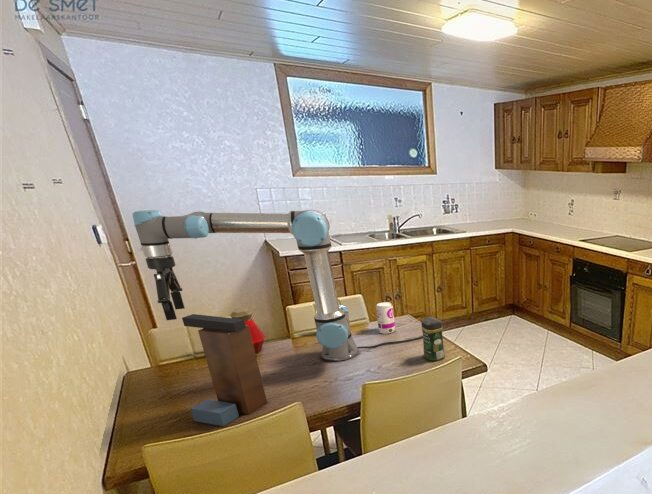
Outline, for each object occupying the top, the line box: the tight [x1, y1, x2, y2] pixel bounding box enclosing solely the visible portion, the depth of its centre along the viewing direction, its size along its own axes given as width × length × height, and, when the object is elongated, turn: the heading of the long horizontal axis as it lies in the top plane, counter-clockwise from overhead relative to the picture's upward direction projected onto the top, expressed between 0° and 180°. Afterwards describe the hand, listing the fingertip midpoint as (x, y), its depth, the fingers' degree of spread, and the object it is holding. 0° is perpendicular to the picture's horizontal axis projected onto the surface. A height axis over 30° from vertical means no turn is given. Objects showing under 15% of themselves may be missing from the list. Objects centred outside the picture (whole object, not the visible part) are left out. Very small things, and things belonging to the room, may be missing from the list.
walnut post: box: [197, 325, 268, 415], centre depth 147 cm, size 12×8×30 cm, turn 77°
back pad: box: [181, 313, 246, 332], centre depth 142 cm, size 21×4×3 cm, turn 77°
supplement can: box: [375, 301, 396, 335], centre depth 220 cm, size 8×8×15 cm
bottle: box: [229, 307, 266, 354], centre depth 194 cm, size 16×14×20 cm
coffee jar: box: [421, 316, 445, 362], centre depth 191 cm, size 10×8×19 cm
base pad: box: [190, 399, 240, 427], centre depth 144 cm, size 12×6×5 cm, turn 77°
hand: (176, 314), depth 156 cm, fingers open, 13 cm apart
